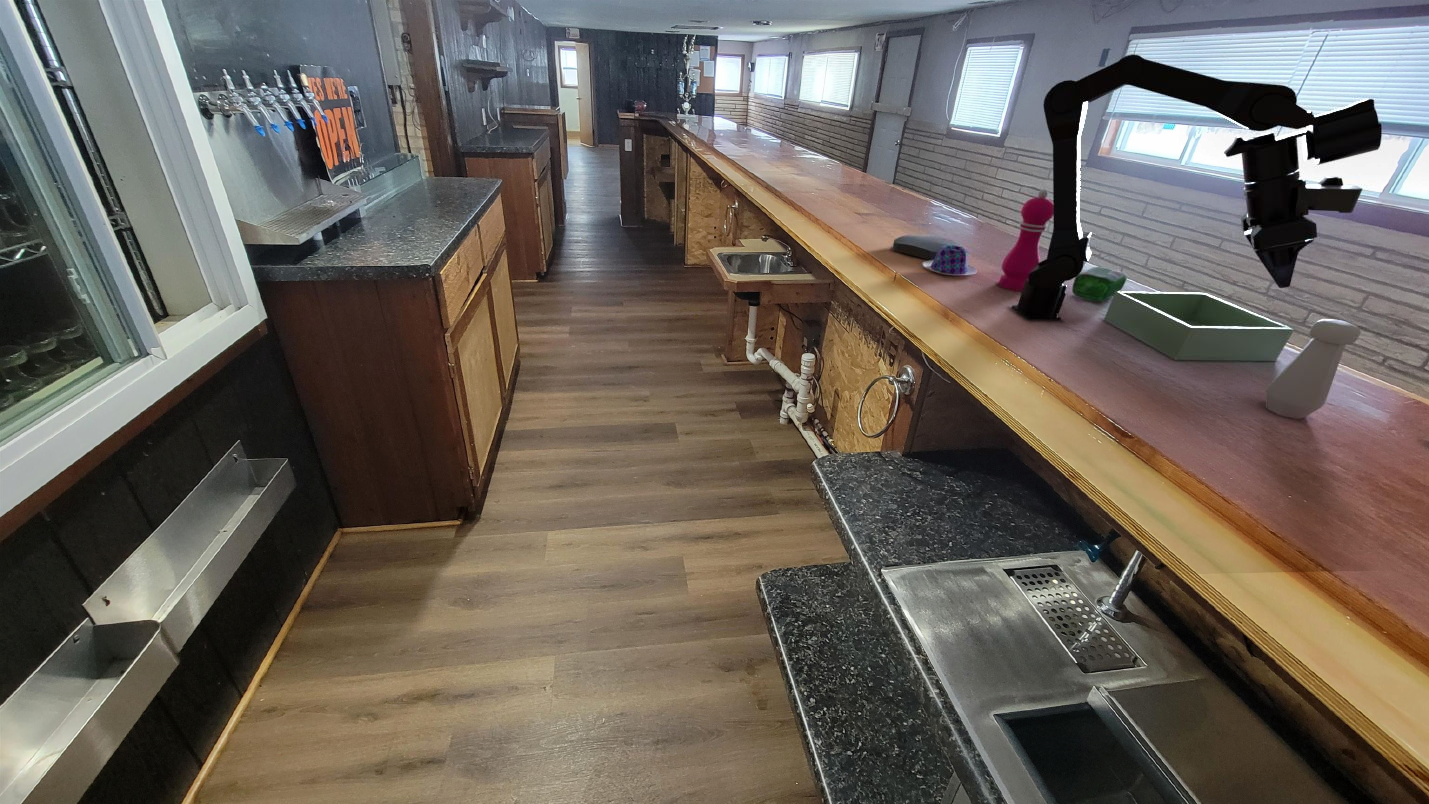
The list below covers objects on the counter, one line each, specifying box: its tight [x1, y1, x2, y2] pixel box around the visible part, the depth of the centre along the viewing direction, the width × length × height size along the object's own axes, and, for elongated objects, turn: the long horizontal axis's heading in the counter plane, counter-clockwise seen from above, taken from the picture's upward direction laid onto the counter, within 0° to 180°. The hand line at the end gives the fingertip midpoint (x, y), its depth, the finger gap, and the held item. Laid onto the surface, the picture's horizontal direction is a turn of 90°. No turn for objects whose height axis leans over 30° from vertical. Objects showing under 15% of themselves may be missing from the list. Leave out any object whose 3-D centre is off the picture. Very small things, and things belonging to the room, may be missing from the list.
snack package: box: [1071, 266, 1128, 303], centre depth 118 cm, size 7×16×5 cm, turn 131°
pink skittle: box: [998, 189, 1053, 292], centre depth 117 cm, size 7×7×20 cm
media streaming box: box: [892, 234, 964, 260], centre depth 144 cm, size 15×15×3 cm
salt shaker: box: [1264, 318, 1362, 420], centre depth 74 cm, size 6×6×13 cm
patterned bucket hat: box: [922, 245, 978, 277], centre depth 130 cm, size 12×12×5 cm
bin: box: [1103, 290, 1295, 362], centre depth 98 cm, size 18×18×6 cm
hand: (1279, 280), depth 86 cm, fingers open, 9 cm apart
